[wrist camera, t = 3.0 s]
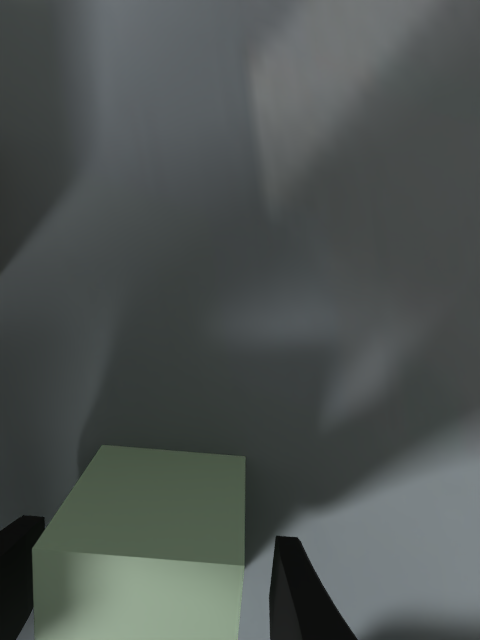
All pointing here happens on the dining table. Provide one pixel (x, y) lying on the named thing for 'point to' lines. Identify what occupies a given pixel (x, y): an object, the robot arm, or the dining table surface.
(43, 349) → the dining table surface
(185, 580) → the sage green block
